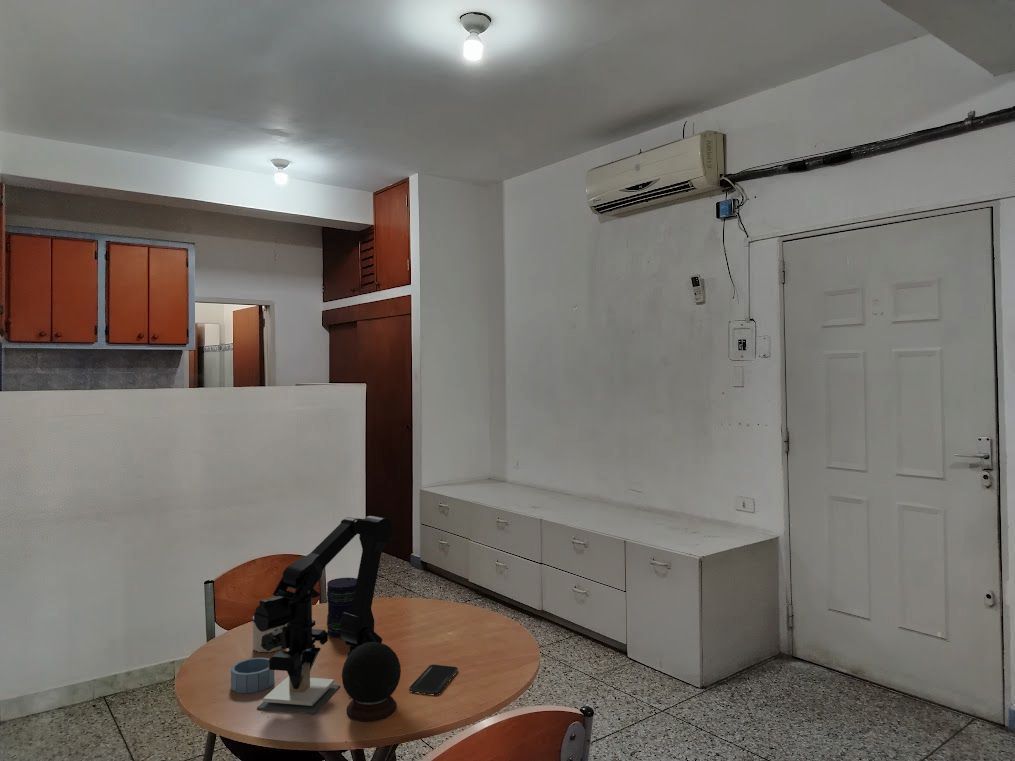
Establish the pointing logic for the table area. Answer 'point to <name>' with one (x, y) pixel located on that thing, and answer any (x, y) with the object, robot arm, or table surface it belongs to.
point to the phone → (433, 679)
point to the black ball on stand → (371, 681)
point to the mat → (300, 708)
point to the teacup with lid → (258, 637)
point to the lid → (300, 690)
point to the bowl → (251, 675)
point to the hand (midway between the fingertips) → (299, 685)
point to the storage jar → (339, 602)
